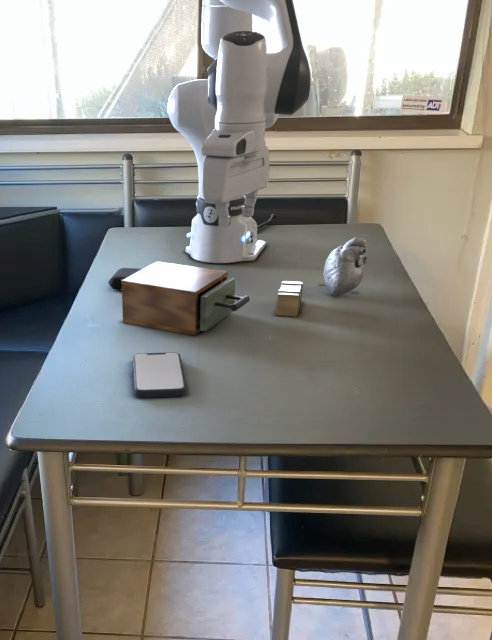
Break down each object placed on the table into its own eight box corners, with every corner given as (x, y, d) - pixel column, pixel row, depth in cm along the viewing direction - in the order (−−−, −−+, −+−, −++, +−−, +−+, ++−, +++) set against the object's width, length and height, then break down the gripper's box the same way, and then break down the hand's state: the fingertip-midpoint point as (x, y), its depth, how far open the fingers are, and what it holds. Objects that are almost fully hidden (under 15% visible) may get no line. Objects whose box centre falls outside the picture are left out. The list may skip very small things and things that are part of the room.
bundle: (281, 301, 176) (282, 279, 173) (301, 302, 175) (303, 280, 172) (275, 315, 168) (277, 293, 166) (297, 316, 167) (299, 294, 165)
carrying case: (105, 293, 183) (169, 296, 180) (104, 279, 181) (169, 282, 178) (117, 278, 192) (178, 281, 189) (117, 265, 190) (179, 268, 187)
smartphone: (187, 398, 137) (180, 359, 150) (187, 389, 136) (180, 351, 149) (134, 400, 137) (132, 361, 150) (134, 391, 136) (132, 353, 149)
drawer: (256, 314, 167) (258, 281, 163) (228, 335, 157) (229, 301, 153) (168, 300, 175) (168, 268, 172) (137, 319, 166) (136, 286, 162)
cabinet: (226, 312, 171) (228, 271, 166) (194, 335, 160) (195, 292, 155) (157, 301, 178) (156, 261, 173) (122, 322, 167) (121, 280, 163)
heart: (323, 280, 185) (326, 228, 177) (365, 283, 182) (371, 231, 174) (314, 302, 179) (318, 249, 170) (359, 305, 176) (364, 252, 167)
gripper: (249, 132, 153) (245, 209, 161) (196, 145, 139) (195, 230, 146) (280, 133, 150) (275, 212, 158) (229, 147, 136) (226, 233, 143)
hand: (236, 221), depth 152 cm, fingers open, 8 cm apart
